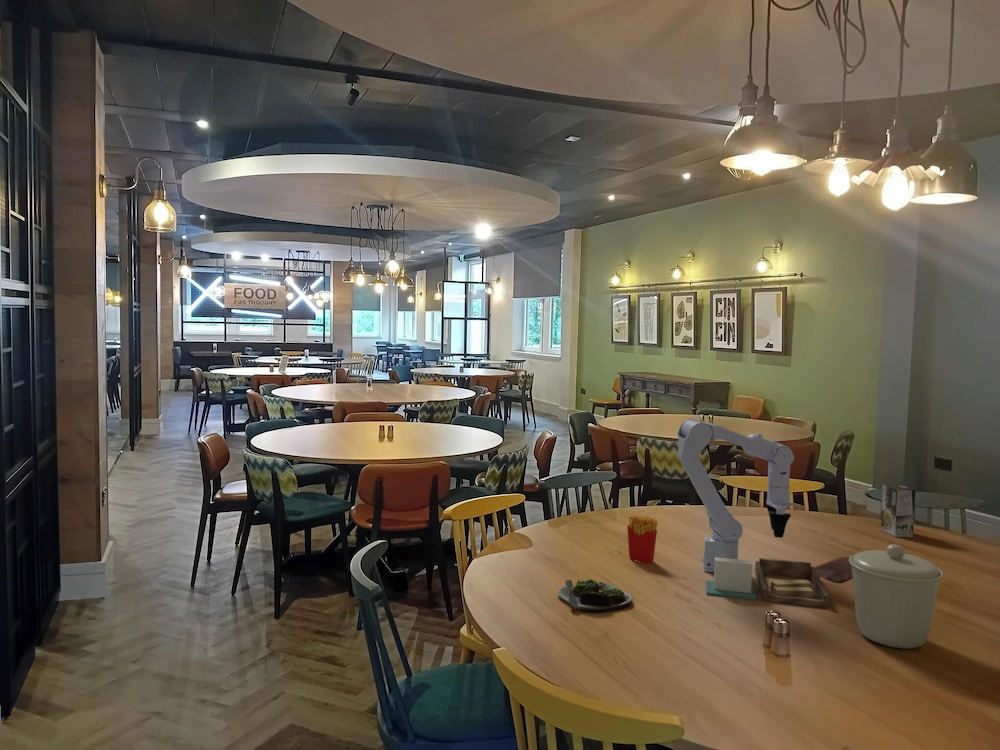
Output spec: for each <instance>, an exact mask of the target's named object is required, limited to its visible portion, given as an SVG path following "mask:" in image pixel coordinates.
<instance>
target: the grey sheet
mask: <svg viewBox="0 0 1000 750" xmlns="http://www.w3.org/2000/svg"><path fill="white" fill-rule="evenodd" d="M752 572H753V562H752V560H748V559H739V558H738V559H729V558H718V557H715V570H714V572H713V574H714V577H713V578H714V579H713V581H714V589H718V590H728V591H737V592H746V593H751V585H752V578H753V577H752Z"/></svg>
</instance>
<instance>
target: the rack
mask: <svg viewBox="0 0 1000 750" xmlns="http://www.w3.org/2000/svg"><path fill="white" fill-rule="evenodd" d="M754 561H755V563H754V564H755V565H754V566H755V567H754V568H755V569H754V573H755V576H756V580H757V586H758V589H759V594H760V597H761V601H763V602H771V603H781V604H789V605H797V606H798V605H799V606H805V607H806V606H807V607H815V608H824V609H825V608H826V609H829V599H830V597H829V594H828V591H827V589H826V588H825V586H824V584H823V582H822V580H821V577H819V576H818V574H817V572H816V570H815V568H814V567H815V566H811V565H812V563H811V562H806V561H795V560H785V559H784V560H783V559H776V558H775V559H773V558H764V557H759V560H754ZM764 575H772V576H784V577H793V578H803V579H810V582H812V586H813V587H814V589H815V592H816V594H817V596H818V598H819V599H815V598H813V599H808V598H799V597H789V596H780V595H772V594H770V593H768V589H767V585H766V581H765V579H764V578H765V577H764Z"/></svg>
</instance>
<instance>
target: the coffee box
mask: <svg viewBox="0 0 1000 750" xmlns="http://www.w3.org/2000/svg"><path fill="white" fill-rule="evenodd" d="M881 500H882V501H881V502H882V503H881V527H880V529H881V531H883V532H885V533H887V534H888V535H890V536H893V537H896V538H913V537H914V525H915V509H916V508H915V507H916V505H915V504H916V489H914V488H911V487H909V486H907V485H903V484H897V483H896V484H894V483H892V484H882V499H881Z"/></svg>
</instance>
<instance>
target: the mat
mask: <svg viewBox="0 0 1000 750" xmlns="http://www.w3.org/2000/svg"><path fill="white" fill-rule="evenodd" d="M705 583H706V584H705V586H706V587H705V589H706V595H707V596H716V597H723V598H724V597H725V598H732V599H733V598H735V599H741V600H750V601H751V600H752V601H757V595H756V594H757V593H756V590H755V587H754V586H755V585H752V584H751V593H746V592H737V591H728V590H718V589H714V580H706V581H705Z"/></svg>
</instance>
